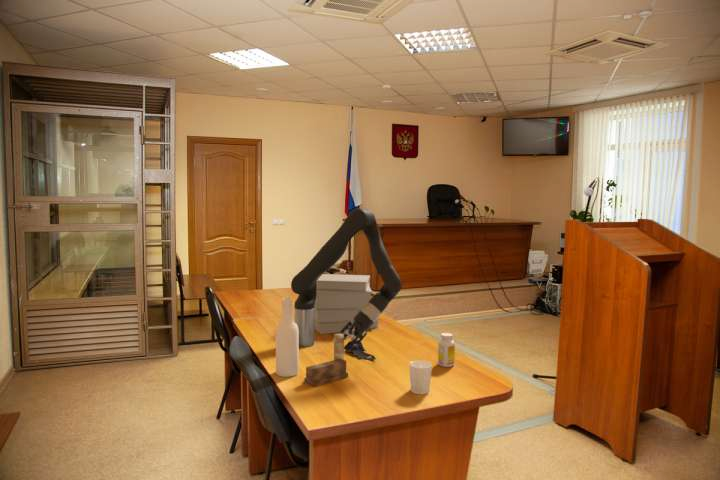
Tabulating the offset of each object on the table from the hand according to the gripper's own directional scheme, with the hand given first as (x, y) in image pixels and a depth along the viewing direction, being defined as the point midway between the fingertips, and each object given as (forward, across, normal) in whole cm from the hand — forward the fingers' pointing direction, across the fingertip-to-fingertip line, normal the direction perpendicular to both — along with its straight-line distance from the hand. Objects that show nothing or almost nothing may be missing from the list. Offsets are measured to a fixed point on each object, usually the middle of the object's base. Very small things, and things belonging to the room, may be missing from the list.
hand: (341, 347), depth 199 cm
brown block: (+13, +8, 0) cm, 15 cm away
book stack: (-12, -58, +25) cm, 64 cm away
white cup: (-6, +32, +19) cm, 37 cm away
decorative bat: (-4, -17, +17) cm, 24 cm away
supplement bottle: (-23, +13, +36) cm, 45 cm away
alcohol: (+22, -4, -9) cm, 24 cm away
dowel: (+7, 0, +6) cm, 9 cm away
